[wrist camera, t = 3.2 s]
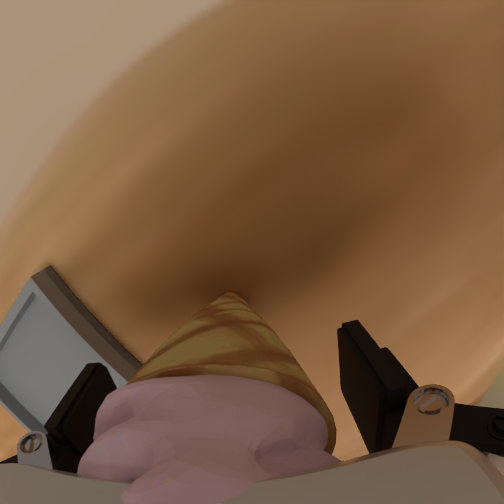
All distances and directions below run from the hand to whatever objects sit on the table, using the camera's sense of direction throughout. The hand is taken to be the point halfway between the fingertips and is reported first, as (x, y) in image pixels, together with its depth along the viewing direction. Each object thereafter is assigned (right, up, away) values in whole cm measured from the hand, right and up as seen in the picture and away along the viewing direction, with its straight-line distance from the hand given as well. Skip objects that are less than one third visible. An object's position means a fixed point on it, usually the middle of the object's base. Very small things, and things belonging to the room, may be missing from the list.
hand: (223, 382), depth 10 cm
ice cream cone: (0, +2, +6) cm, 6 cm away
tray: (-12, -6, +7) cm, 15 cm away
